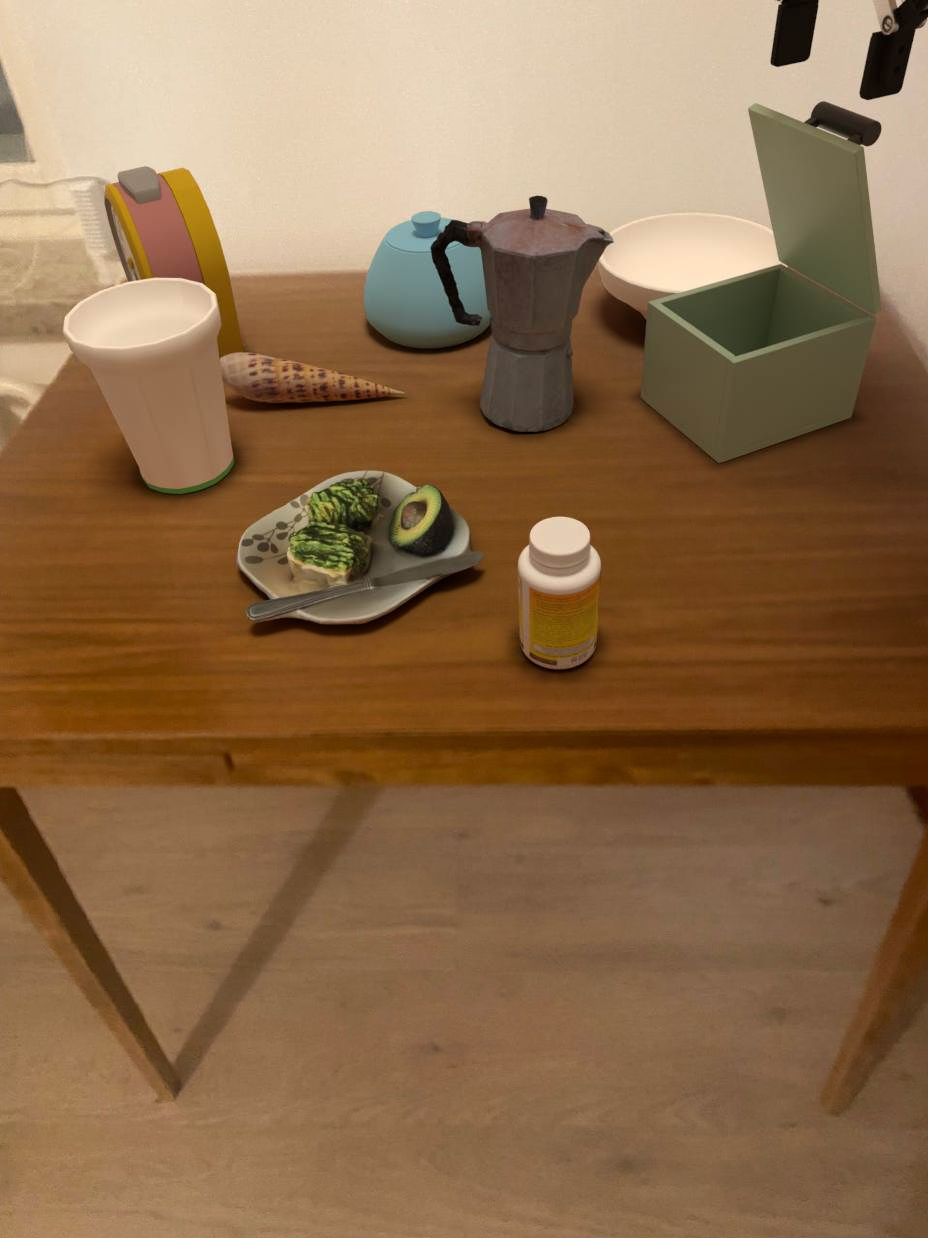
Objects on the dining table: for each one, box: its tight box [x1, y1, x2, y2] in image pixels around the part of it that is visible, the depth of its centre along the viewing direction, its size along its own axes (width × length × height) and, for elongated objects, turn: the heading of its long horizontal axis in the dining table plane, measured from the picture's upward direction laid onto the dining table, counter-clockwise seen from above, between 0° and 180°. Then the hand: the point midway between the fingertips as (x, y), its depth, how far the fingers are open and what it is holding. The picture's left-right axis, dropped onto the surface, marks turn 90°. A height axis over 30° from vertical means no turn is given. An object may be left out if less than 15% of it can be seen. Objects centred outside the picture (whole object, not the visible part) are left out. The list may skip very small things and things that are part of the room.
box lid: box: [747, 100, 883, 316], centre depth 80 cm, size 15×13×5 cm
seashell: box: [220, 351, 407, 404], centre depth 94 cm, size 4×18×5 cm, turn 85°
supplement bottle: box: [517, 516, 602, 670], centre depth 66 cm, size 6×6×10 cm
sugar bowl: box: [363, 210, 491, 350], centre depth 103 cm, size 15×15×12 cm
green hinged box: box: [639, 264, 877, 464], centre depth 87 cm, size 15×13×10 cm
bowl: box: [597, 212, 790, 321], centre depth 102 cm, size 20×20×7 cm
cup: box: [62, 278, 235, 495], centre depth 83 cm, size 12×12×15 cm
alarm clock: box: [103, 165, 245, 358], centre depth 99 cm, size 15×8×18 cm, turn 27°
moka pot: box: [430, 195, 614, 433], centre depth 86 cm, size 10×15×20 cm, turn 89°
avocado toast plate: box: [235, 469, 486, 625], centre depth 76 cm, size 19×18×5 cm
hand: (832, 78), depth 70 cm, fingers open, 9 cm apart
